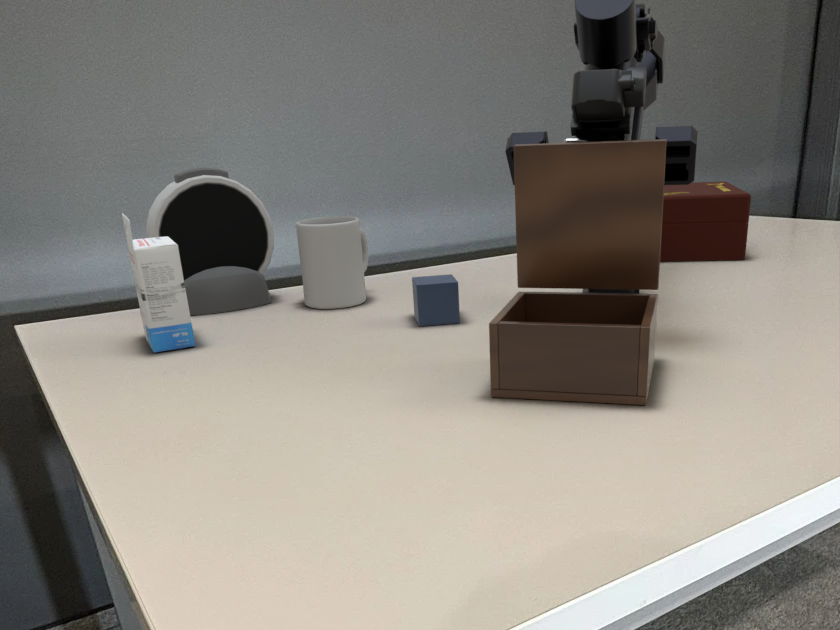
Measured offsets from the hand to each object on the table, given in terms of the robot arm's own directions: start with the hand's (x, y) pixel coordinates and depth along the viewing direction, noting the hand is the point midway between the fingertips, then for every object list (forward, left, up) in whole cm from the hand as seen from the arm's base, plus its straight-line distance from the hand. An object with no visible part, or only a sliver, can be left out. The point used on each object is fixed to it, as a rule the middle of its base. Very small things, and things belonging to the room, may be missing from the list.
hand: (591, 225), depth 78 cm
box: (-33, -52, -13) cm, 64 cm away
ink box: (+46, -18, -13) cm, 51 cm away
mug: (+25, -34, -13) cm, 44 cm away
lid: (+2, +4, +1) cm, 4 cm away
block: (+14, -18, -13) cm, 26 cm away
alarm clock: (+42, -37, -13) cm, 57 cm away
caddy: (+4, +8, -13) cm, 16 cm away
